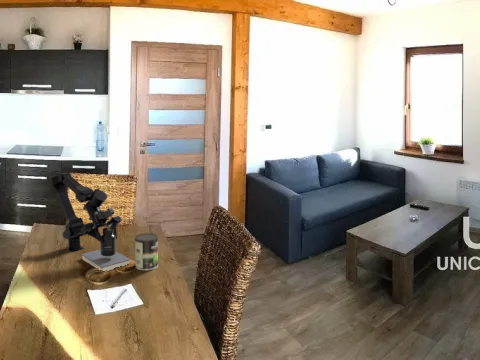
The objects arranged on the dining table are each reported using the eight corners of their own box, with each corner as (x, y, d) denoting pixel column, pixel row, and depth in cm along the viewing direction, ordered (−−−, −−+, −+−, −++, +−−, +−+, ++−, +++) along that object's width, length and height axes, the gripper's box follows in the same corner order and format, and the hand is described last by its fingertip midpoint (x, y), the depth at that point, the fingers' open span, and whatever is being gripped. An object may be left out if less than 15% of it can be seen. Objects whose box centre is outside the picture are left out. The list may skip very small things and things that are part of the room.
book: (81, 260, 197) (81, 254, 197) (108, 252, 207) (108, 247, 207) (102, 273, 184) (102, 267, 183) (130, 265, 194) (130, 259, 193)
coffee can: (161, 263, 196) (161, 234, 193) (152, 271, 186) (152, 241, 183) (141, 260, 198) (140, 232, 195) (131, 269, 188) (130, 239, 185)
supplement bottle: (106, 258, 188) (105, 232, 185) (97, 253, 192) (96, 229, 189) (119, 253, 193) (118, 229, 191) (110, 249, 197) (109, 225, 195)
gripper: (83, 207, 183) (99, 237, 179) (119, 199, 197) (134, 227, 193) (74, 220, 189) (89, 249, 185) (109, 212, 204) (123, 239, 199)
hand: (109, 240), depth 190 cm, fingers closed on supplement bottle, 7 cm apart
